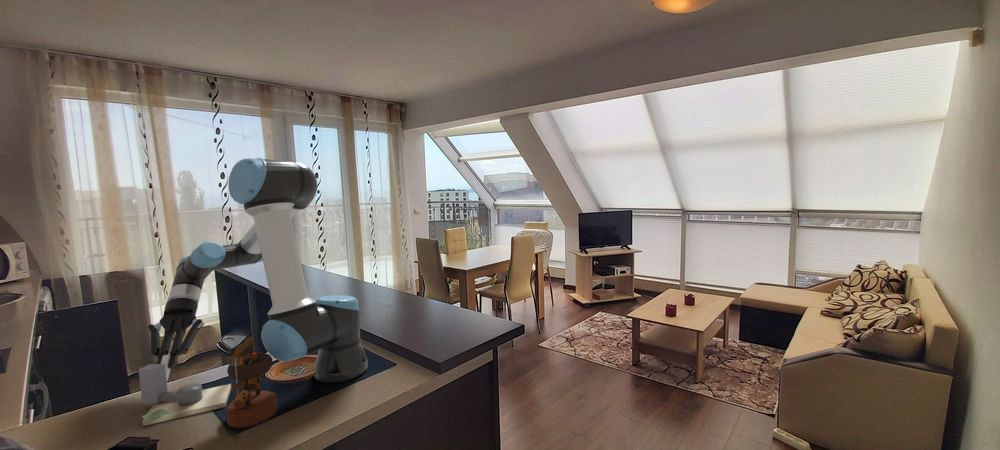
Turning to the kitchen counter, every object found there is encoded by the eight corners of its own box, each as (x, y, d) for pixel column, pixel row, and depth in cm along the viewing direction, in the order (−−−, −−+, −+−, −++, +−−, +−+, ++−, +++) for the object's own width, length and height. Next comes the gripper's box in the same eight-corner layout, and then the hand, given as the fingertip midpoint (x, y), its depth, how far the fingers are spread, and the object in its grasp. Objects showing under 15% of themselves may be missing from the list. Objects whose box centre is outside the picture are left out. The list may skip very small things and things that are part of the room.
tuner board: (231, 387, 107) (230, 383, 107) (224, 409, 97) (224, 404, 97) (153, 404, 99) (152, 399, 99) (136, 429, 89) (135, 424, 89)
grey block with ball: (207, 394, 101) (204, 361, 100) (192, 405, 96) (189, 370, 95) (156, 395, 101) (152, 362, 100) (138, 406, 96) (134, 371, 95)
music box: (270, 426, 89) (255, 345, 87) (216, 439, 86) (200, 355, 84) (288, 393, 104) (276, 323, 101) (242, 403, 101) (229, 330, 99)
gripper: (212, 306, 121) (196, 380, 107) (161, 311, 117) (137, 389, 102) (204, 294, 116) (186, 371, 101) (150, 298, 111) (124, 380, 97)
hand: (161, 380), depth 102 cm, fingers closed
